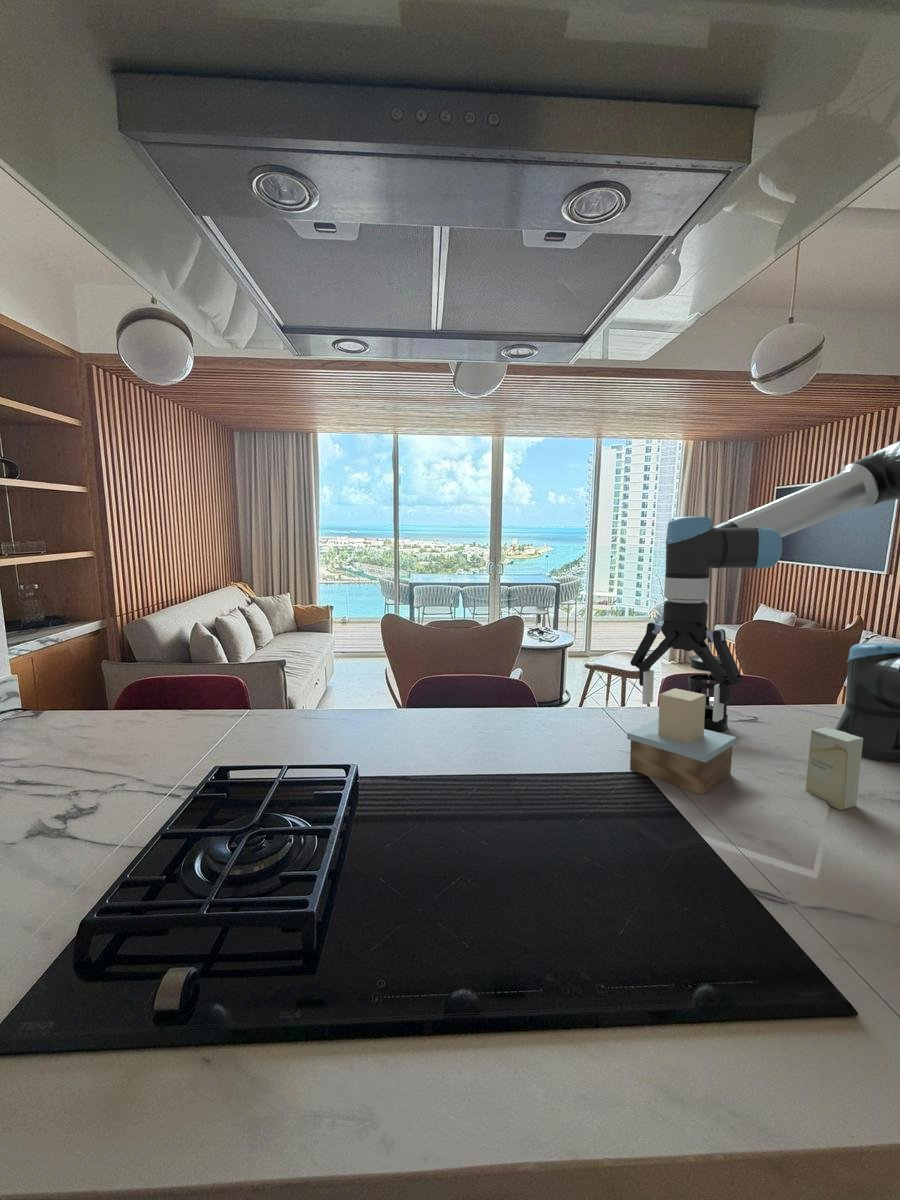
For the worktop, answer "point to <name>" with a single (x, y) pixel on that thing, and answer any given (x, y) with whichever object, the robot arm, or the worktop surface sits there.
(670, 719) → the lid
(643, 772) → the box
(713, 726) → the french press
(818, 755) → the skincare box
